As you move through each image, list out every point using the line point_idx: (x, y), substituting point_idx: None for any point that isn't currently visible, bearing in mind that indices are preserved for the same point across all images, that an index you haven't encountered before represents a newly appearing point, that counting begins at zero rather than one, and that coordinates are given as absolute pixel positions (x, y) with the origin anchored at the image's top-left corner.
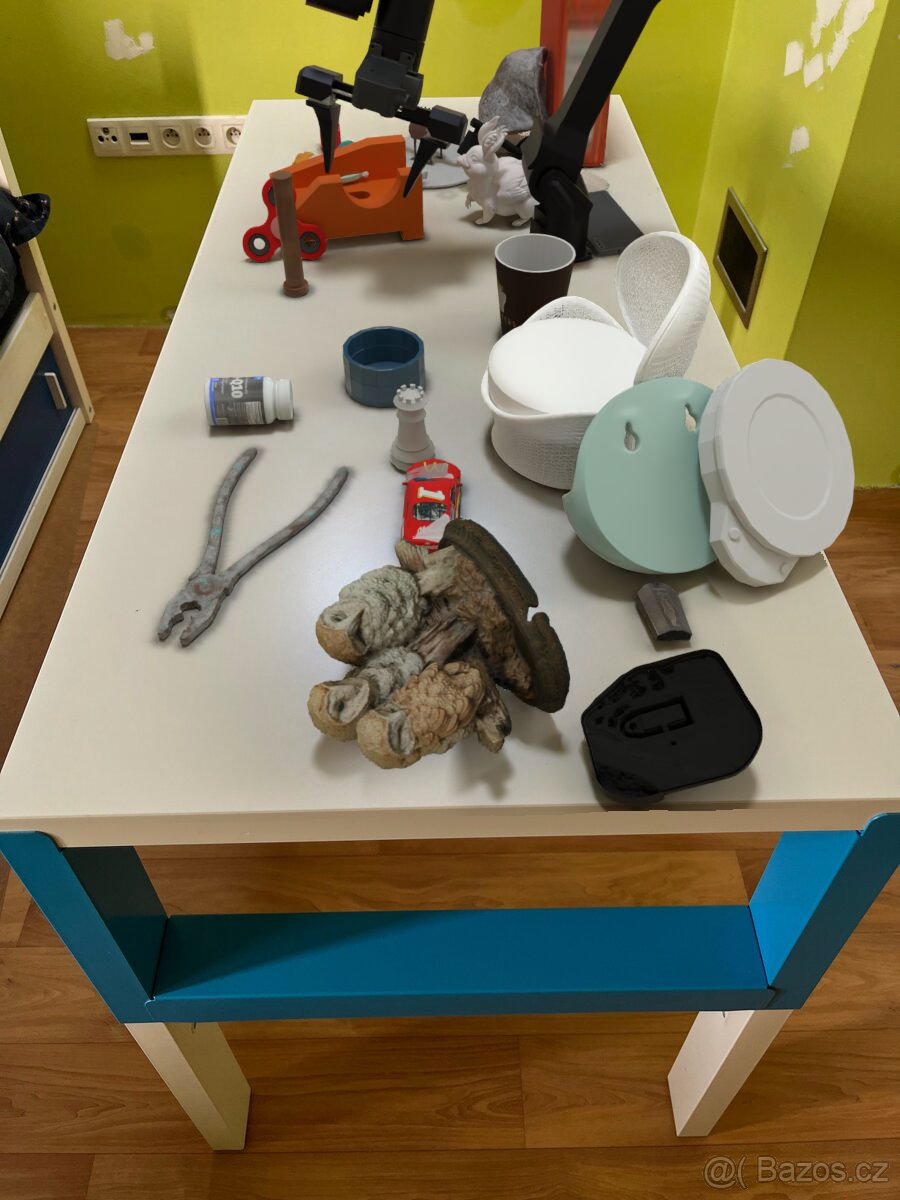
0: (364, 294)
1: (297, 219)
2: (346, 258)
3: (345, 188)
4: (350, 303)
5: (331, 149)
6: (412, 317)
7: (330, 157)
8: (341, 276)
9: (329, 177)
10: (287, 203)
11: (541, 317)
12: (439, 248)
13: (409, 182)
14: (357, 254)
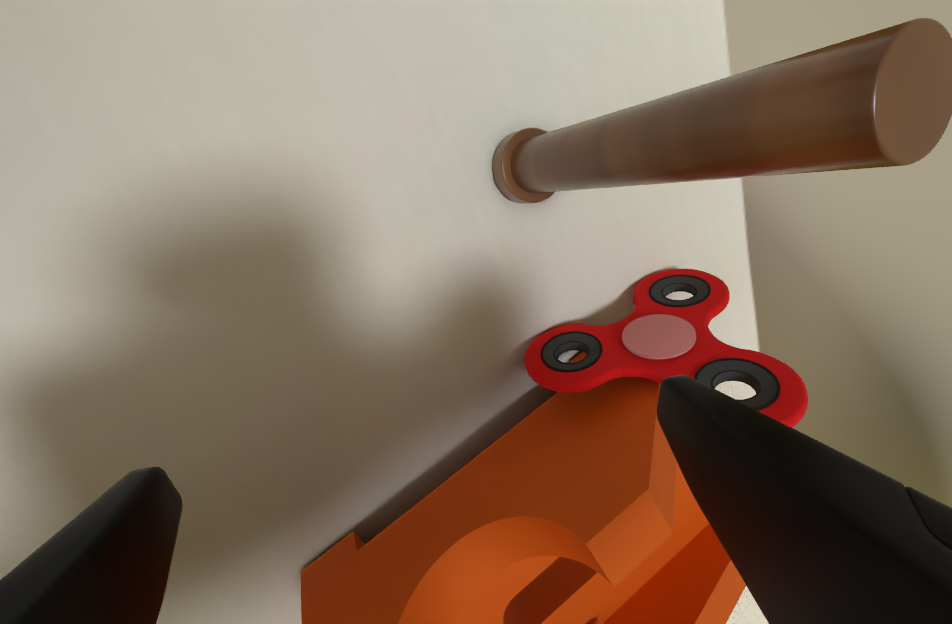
0: (331, 208)
1: (638, 372)
2: (466, 379)
3: (579, 614)
4: (350, 141)
5: (771, 483)
6: (83, 102)
7: (729, 433)
8: (440, 285)
9: (636, 549)
10: (740, 79)
11: None
12: (227, 551)
13: (51, 562)
14: (446, 411)
